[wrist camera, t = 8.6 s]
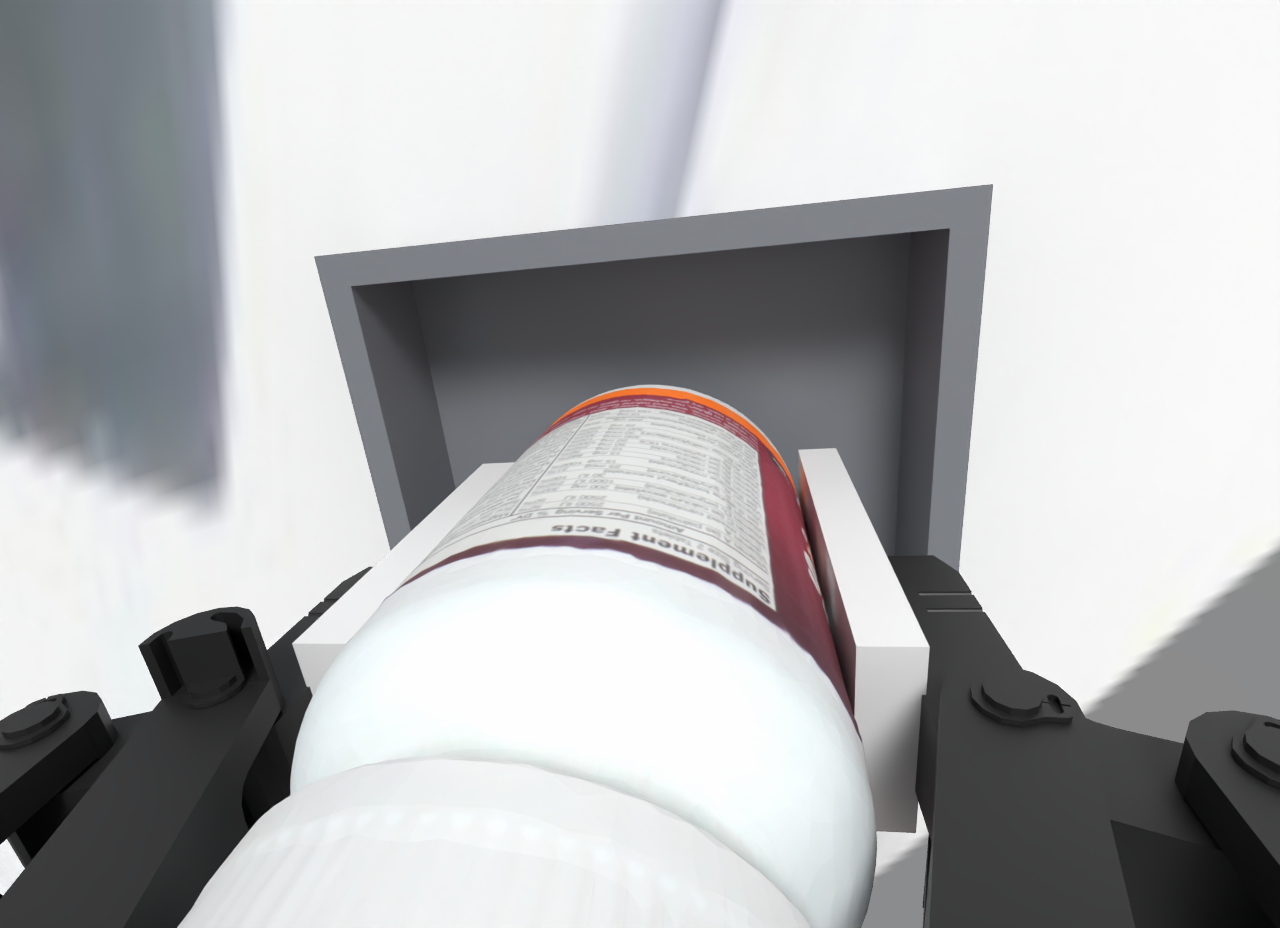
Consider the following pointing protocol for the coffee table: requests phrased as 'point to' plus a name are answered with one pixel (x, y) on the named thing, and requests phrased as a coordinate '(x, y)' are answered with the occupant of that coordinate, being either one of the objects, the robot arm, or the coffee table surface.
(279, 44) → the coffee table surface
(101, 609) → the coffee table surface
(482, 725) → the pill bottle
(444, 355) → the tray
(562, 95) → the coffee table surface
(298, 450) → the coffee table surface
